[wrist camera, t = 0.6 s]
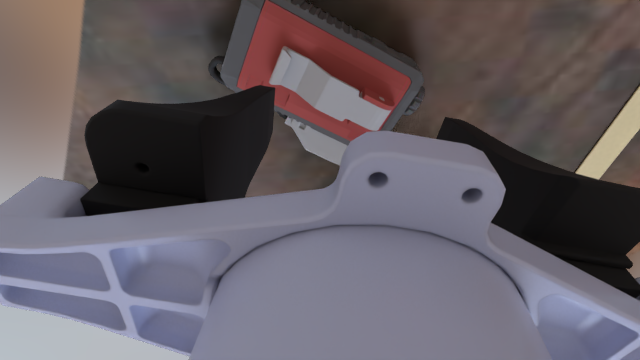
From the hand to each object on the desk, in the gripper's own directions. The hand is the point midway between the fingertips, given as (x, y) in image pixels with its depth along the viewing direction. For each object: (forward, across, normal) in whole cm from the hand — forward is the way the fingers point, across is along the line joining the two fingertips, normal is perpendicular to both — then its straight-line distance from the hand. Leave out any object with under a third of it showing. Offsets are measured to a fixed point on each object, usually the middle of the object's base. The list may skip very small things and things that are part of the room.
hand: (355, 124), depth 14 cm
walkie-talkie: (+10, -1, +3) cm, 10 cm away
